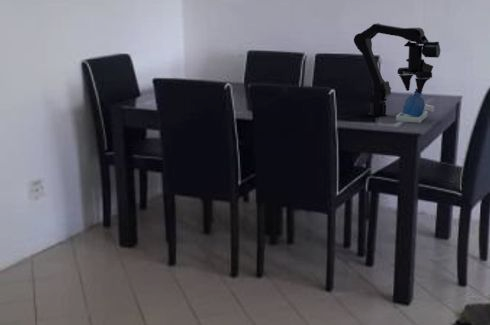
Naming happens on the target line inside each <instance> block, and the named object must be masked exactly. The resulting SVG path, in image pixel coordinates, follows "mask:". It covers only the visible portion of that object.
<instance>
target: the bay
mask: <svg viewBox="0 0 490 325" xmlns="http://www.w3.org/2000/svg"><path fill="white" fill-rule="evenodd" d="M402 108H404V105H403V107H402ZM423 111H428V112H431V113H433V112H435V106H434V105H430V104H427V103H426V104H425V106H424V110H423Z"/></svg>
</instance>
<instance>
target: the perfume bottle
mask: <svg viewBox="0 0 490 325" xmlns="http://www.w3.org/2000/svg"><path fill="white" fill-rule="evenodd" d="M413 93H414V94H411V95H409V96H408V97H407V98H406V99H405V102H404V105H403V106H404V108H403V107H402V108H403V109H402V111H403V112H402V111H401V112H402V113H404V114H408V115H411V116H415V117H420V116H421V115H422V113H423V111H425V110H424V106H425V99H424V98H423V97H421V96H422V94H423V89H422V92H421V93H420V94H419V93H418V90H417V88H415V90H414V92H413Z"/></svg>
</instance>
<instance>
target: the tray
mask: <svg viewBox="0 0 490 325" xmlns="http://www.w3.org/2000/svg"><path fill="white" fill-rule="evenodd" d="M402 112H403V110H402V111H401V112H400V113H398V114H397V115H395V122H404V123H405V122H407V123H420V124H421V122H423V121H424V120H425V119H426V118H427V117H428V113H429V111H427V110H423V113H422V115H421V116H420V117H415V116H411V115H408V114H404V113H402Z"/></svg>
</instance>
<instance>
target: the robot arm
mask: <svg viewBox="0 0 490 325" xmlns="http://www.w3.org/2000/svg"><path fill="white" fill-rule="evenodd" d="M377 34H382V35H388V36H394V37H395V36H396V37H400V38H402V39H404V40H406V41H407V42H406V43H405V44H404V47H408V58H406V62H408V63H407V67H399V68H398V69H397V75H399V77H400V79H401V81H402V84H403V86H404V88H405V90H406V92H409V91H410V88H411V80H412V77H414V76H415V80H414V81H415V83H416V89H417V90H418V93H419V94H420V93H421V92H422V93H423V91H422V90H423V89H424V86H425V84H426V82H427V81H429V80H430V79H432V78H433V72H432V71H433V68H434V65H431V64H429V63H426V61H425V60H424V59H423V56H424V58H435V59H437V58H438V59H439V57H440V56H441V46H440V41H429V40H428V38H427V36H426V35H425V31H424V29H423V28H421V27H400V26H393V25H387V24H381V23H373V24H372V25H371V26H370V27H368V28H366V29H365V30H363V31H362V32H360V33H357V34H355V35H354V38H353V43H354V44H355V46H356V48H357V50H359V52H360V53H361V54H362V57H363V60H364V62H365V65H366V67H367V70H368V73H369V76H370V78H371V81H372V92H373V94H372V95H371V96H370V97H369V98H368V101H369V104H370V105H369V107H370V108H369V113H368V115H369V116H372V117H375V118H376V117H386V116H387V115H388V114H386V113H387V105H386V104H387V103H386V102H387V99H388V98H389V97H390V96H391V93H392V91H391V90H392V87H391V86H390V82H389V81H388V80H386V81H385V80H384V78H383V76H382V74H381V71H380V68H379V66H378V63H377V60H376V57H375V56H374V51H373V42H372V39H374V38H375V37H376V36H377Z"/></svg>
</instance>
